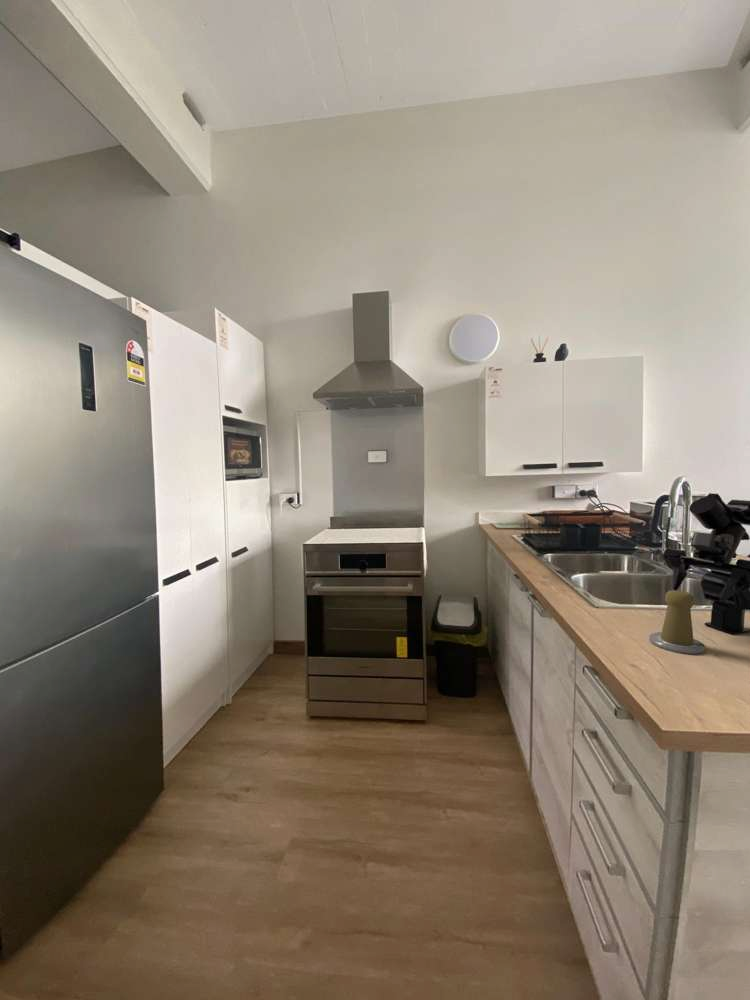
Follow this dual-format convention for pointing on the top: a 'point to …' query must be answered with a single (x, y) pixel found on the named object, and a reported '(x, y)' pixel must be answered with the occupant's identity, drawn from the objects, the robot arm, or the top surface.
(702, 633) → the top surface
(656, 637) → the coaster
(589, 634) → the top surface
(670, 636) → the cork
